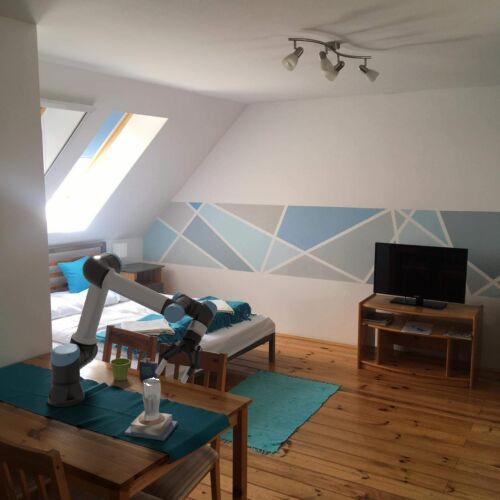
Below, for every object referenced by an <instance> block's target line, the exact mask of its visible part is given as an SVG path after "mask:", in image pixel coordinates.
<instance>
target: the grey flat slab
mask: <svg viewBox="0 0 500 500" xmlns="http://www.w3.org/2000/svg"><path fill="white" fill-rule="evenodd" d="M178 423H179V421H177V420H172V422H171V424H170V425H169V426H168V427H167V428H166V430H165V431H164V432H163V433H162V434H161V435H160V436H159V435H152V434H145V433H137V432H131V425H130V426H129V427H128V428H127V429H125V431H124V436H129V437H135V438H136V437H138V438H141V439H142V438H143V439H148V440H149V439H150V440H158V441H162V442H163V441H165V440H166V439H167V438H168V437H169V436H170V434H171V433H172V432H173V431H174V429H176V427H177V426H178Z"/></svg>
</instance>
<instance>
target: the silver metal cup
mask: <svg viewBox="0 0 500 500" xmlns="http://www.w3.org/2000/svg"><path fill="white" fill-rule="evenodd" d="M161 386H162V385H161V380H160V379H159V378H158V379H156V378H150V379H146V380H143V381H142V400H143V407H144V411H145V413H144V420H145V421H147V422H155V421H157V420H159V418H160V416H159V413H160V411H159V409H160V402H161V396H162V387H161Z"/></svg>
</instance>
